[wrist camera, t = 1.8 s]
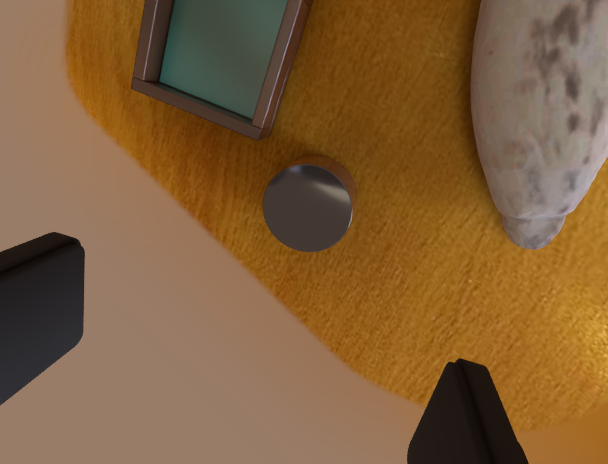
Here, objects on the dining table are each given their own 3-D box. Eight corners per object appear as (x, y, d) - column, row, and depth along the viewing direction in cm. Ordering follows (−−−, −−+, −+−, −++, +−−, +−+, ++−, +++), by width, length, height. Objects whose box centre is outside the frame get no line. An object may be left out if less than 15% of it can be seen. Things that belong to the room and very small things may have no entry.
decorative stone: (459, 239, 20) (474, 266, 17) (467, -119, 15) (491, -177, 12) (589, 234, 19) (632, 262, 15) (645, -160, 14) (724, -237, 11)
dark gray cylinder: (305, 138, 20) (293, 144, 17) (372, 186, 20) (371, 200, 17) (264, 203, 21) (246, 218, 19) (326, 246, 22) (318, 268, 19)
